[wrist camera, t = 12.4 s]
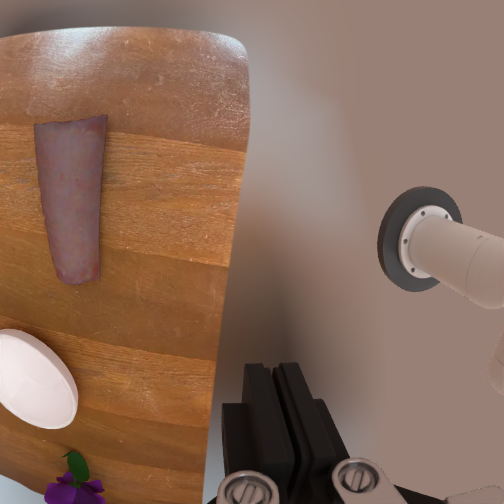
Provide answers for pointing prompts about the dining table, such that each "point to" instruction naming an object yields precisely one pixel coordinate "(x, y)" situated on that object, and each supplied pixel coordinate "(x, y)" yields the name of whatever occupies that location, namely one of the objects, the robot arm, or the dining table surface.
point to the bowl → (35, 381)
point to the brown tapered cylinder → (72, 193)
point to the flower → (75, 485)
